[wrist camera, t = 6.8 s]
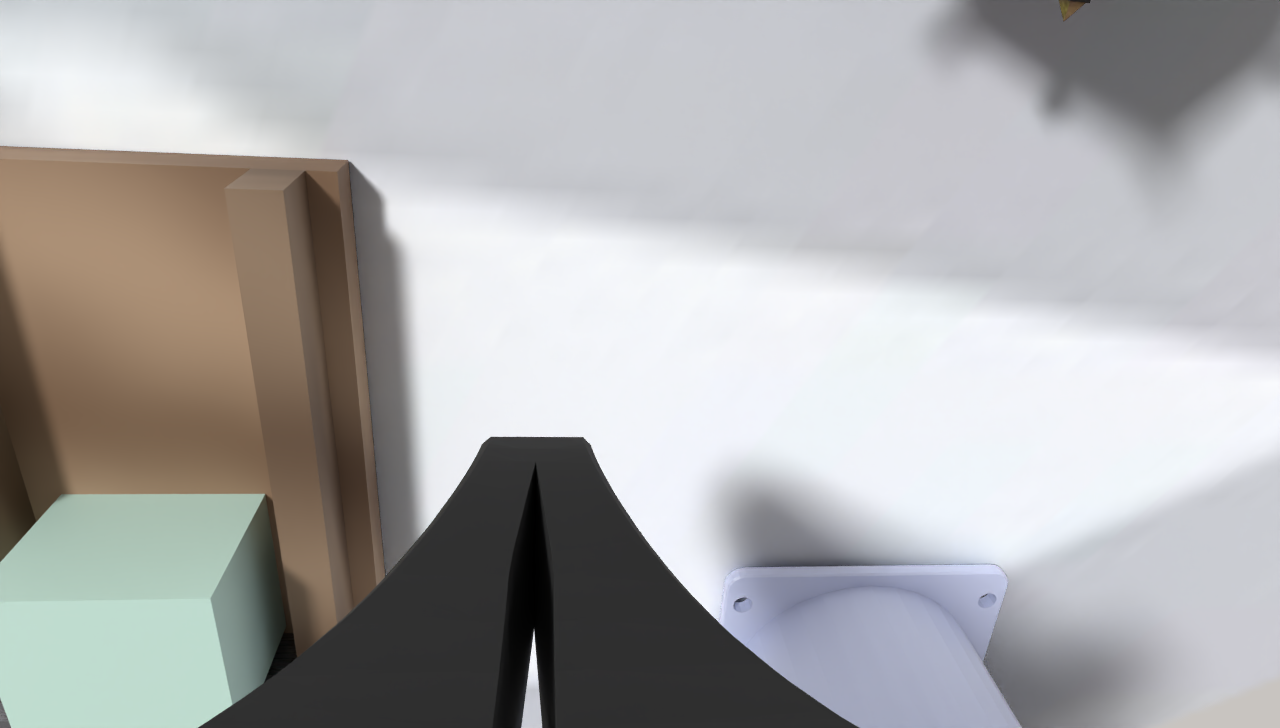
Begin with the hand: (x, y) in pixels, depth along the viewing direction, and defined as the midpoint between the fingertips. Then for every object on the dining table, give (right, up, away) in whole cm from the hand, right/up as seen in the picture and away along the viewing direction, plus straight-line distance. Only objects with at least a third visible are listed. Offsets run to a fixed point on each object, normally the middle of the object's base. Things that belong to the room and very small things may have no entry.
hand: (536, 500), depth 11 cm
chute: (-9, 0, +8) cm, 13 cm away
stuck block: (-10, -3, +9) cm, 13 cm away
